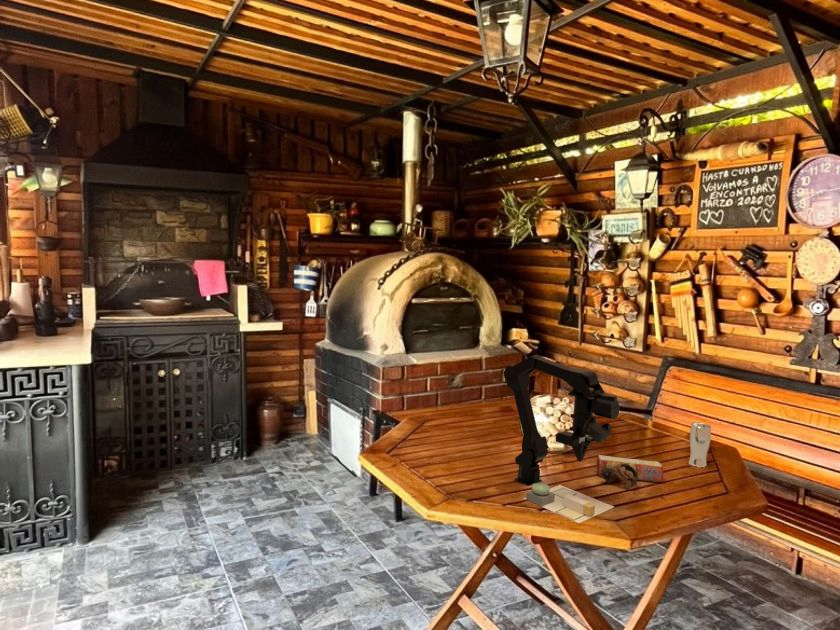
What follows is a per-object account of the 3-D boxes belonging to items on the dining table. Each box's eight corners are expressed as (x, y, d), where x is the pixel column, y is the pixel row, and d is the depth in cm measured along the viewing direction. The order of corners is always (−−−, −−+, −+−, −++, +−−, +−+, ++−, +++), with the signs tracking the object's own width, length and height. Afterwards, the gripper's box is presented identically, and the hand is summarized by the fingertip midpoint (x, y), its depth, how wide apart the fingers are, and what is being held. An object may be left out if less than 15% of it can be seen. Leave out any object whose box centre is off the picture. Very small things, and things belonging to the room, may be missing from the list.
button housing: (525, 501, 178) (526, 491, 178) (538, 496, 182) (539, 487, 182) (541, 508, 174) (542, 498, 173) (554, 503, 177) (554, 493, 177)
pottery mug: (622, 479, 200) (634, 462, 196) (632, 501, 192) (645, 484, 188) (591, 472, 198) (603, 455, 193) (600, 494, 190) (613, 477, 186)
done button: (527, 499, 178) (528, 485, 178) (538, 495, 181) (539, 481, 181) (541, 505, 174) (542, 491, 174) (552, 501, 177) (553, 487, 177)
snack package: (659, 477, 202) (660, 458, 201) (663, 484, 196) (664, 465, 195) (595, 471, 206) (596, 452, 205) (597, 478, 200) (598, 459, 199)
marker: (562, 505, 174) (563, 496, 174) (568, 503, 176) (569, 493, 176) (588, 517, 167) (589, 507, 167) (594, 514, 169) (595, 504, 169)
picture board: (523, 500, 179) (523, 498, 179) (559, 486, 190) (559, 484, 190) (578, 525, 164) (578, 522, 164) (614, 508, 175) (614, 506, 175)
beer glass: (684, 464, 215) (688, 424, 214) (690, 459, 221) (694, 421, 219) (704, 469, 211) (708, 429, 209) (710, 464, 216) (714, 425, 214)
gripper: (587, 423, 166) (584, 476, 168) (623, 413, 178) (619, 462, 180) (556, 414, 175) (552, 464, 177) (592, 405, 187) (588, 452, 189)
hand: (579, 461), depth 180 cm, fingers closed
